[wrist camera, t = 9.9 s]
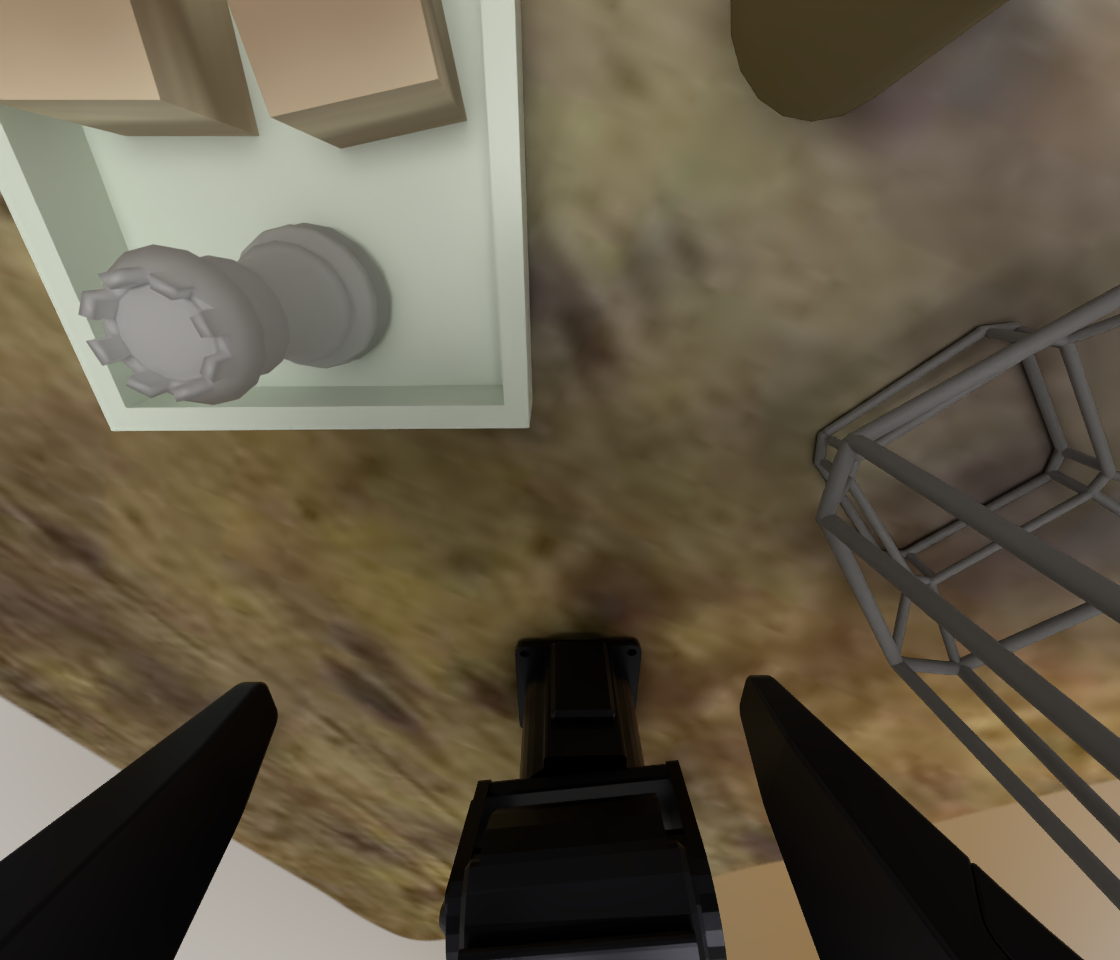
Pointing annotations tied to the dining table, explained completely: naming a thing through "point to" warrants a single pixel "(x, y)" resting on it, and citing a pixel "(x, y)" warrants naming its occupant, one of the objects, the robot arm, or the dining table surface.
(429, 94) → the beech block
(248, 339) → the rook chess piece
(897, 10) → the cork
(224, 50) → the beech block
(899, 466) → the geometric lantern
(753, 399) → the dining table surface
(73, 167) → the tray
